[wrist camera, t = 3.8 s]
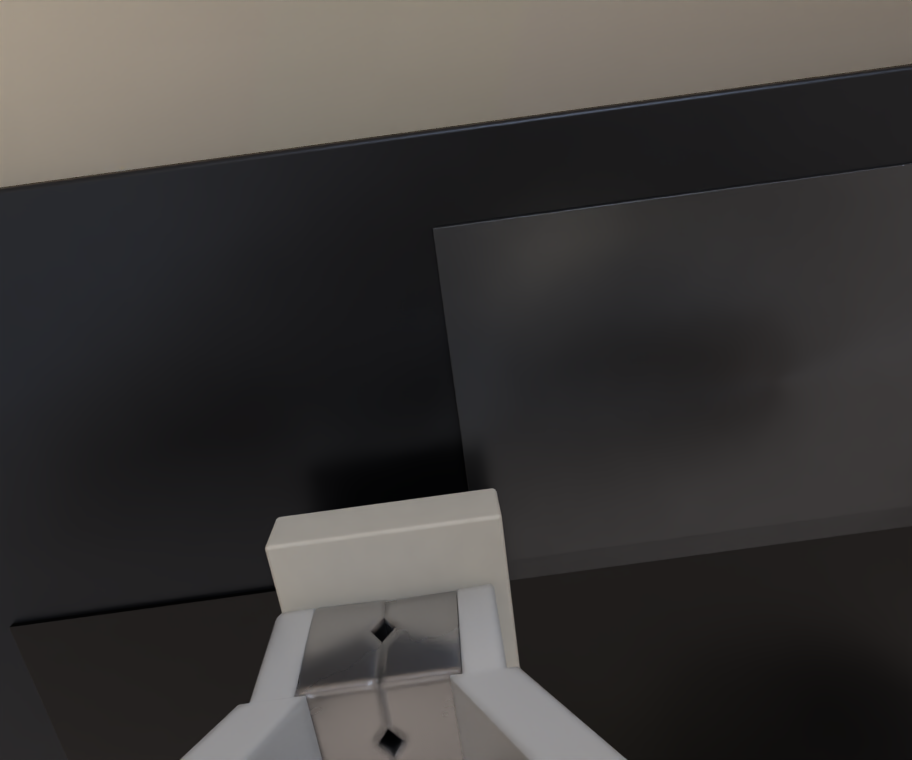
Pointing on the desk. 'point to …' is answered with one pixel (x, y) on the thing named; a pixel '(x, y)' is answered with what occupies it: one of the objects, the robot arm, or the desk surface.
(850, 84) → the laptop
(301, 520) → the white flat square block
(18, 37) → the desk surface
